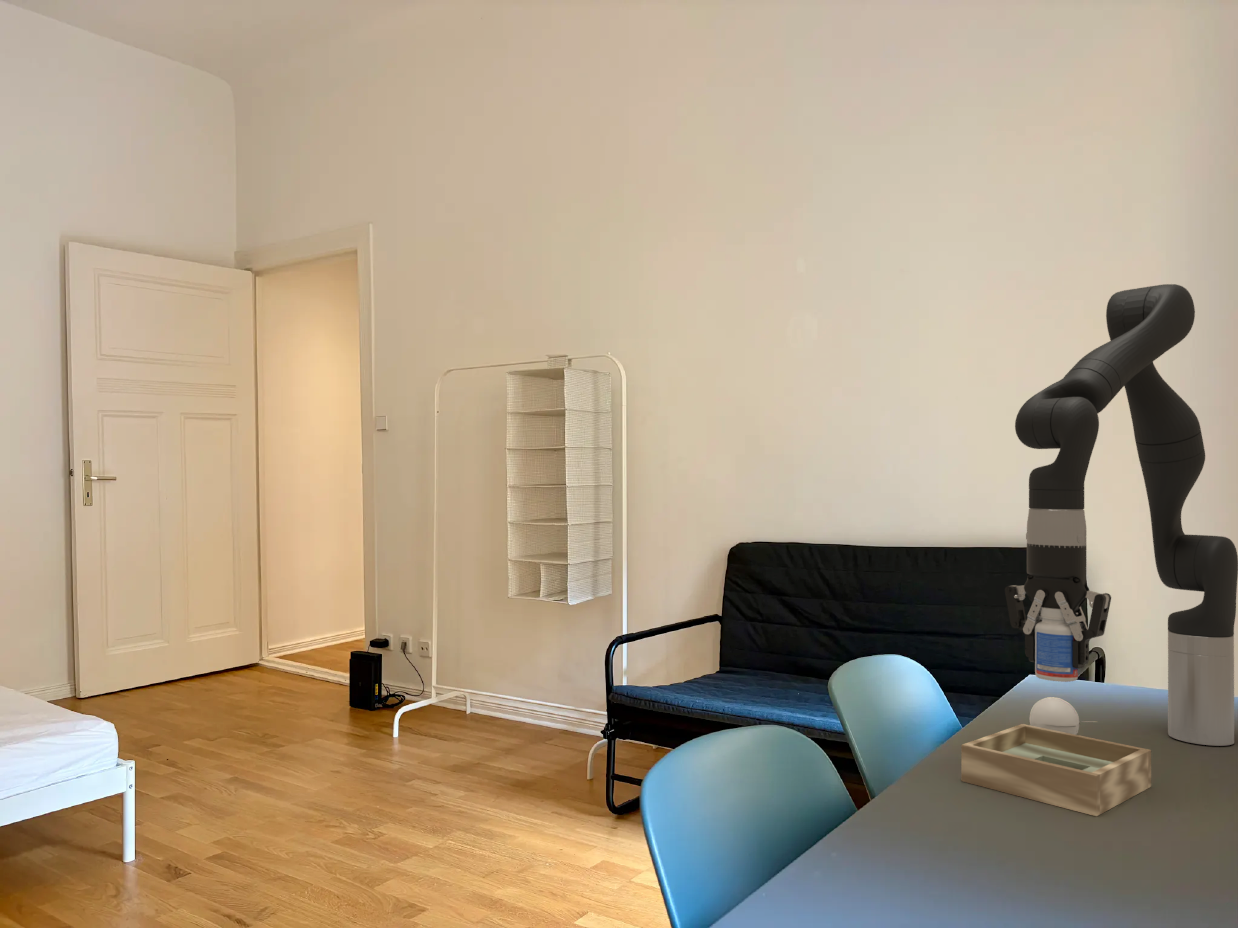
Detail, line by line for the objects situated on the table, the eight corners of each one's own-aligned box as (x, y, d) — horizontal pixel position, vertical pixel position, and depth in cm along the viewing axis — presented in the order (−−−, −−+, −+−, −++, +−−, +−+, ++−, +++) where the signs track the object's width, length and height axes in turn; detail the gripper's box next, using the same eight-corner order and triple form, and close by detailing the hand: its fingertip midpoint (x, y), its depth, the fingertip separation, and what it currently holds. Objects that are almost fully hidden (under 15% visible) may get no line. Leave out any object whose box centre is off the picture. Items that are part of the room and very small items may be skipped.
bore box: (1022, 756, 142) (1022, 723, 142) (1151, 786, 129) (1151, 749, 129) (961, 780, 130) (961, 744, 130) (1096, 816, 117) (1096, 775, 117)
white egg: (1029, 747, 148) (1029, 700, 148) (1028, 735, 155) (1028, 690, 155) (1101, 754, 144) (1100, 706, 144) (1096, 742, 151) (1096, 696, 151)
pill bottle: (1082, 683, 127) (1082, 610, 127) (1040, 681, 128) (1040, 609, 128) (1071, 675, 132) (1071, 605, 132) (1031, 673, 133) (1031, 604, 133)
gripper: (1122, 543, 127) (1122, 669, 127) (1018, 538, 138) (1018, 653, 138) (1099, 545, 122) (1099, 676, 122) (993, 539, 133) (993, 659, 133)
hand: (1056, 663), depth 130 cm, fingers closed on pill bottle, 5 cm apart
